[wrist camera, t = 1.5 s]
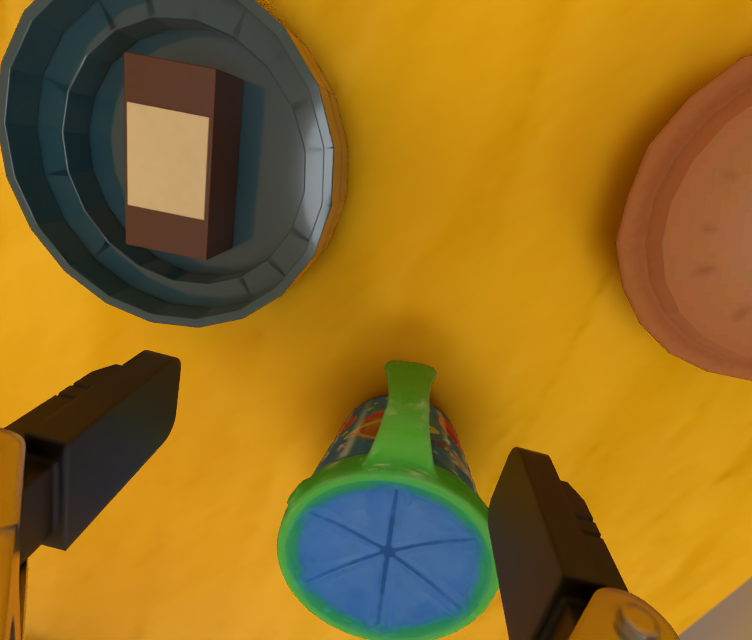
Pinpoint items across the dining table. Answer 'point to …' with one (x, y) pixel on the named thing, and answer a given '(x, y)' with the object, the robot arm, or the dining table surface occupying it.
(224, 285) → the snack bowl
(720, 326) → the pie
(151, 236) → the oat bar
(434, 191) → the dining table surface
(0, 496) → the robot arm
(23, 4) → the dining table surface
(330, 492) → the snack cup
